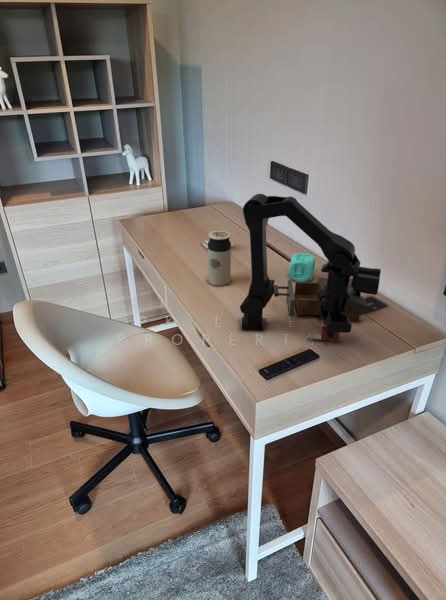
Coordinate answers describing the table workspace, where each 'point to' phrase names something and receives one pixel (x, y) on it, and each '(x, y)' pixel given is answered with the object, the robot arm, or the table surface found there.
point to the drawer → (302, 297)
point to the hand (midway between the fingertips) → (329, 335)
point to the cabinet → (351, 315)
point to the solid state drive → (373, 305)
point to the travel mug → (219, 258)
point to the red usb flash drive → (324, 335)
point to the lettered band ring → (207, 242)
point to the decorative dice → (302, 267)
